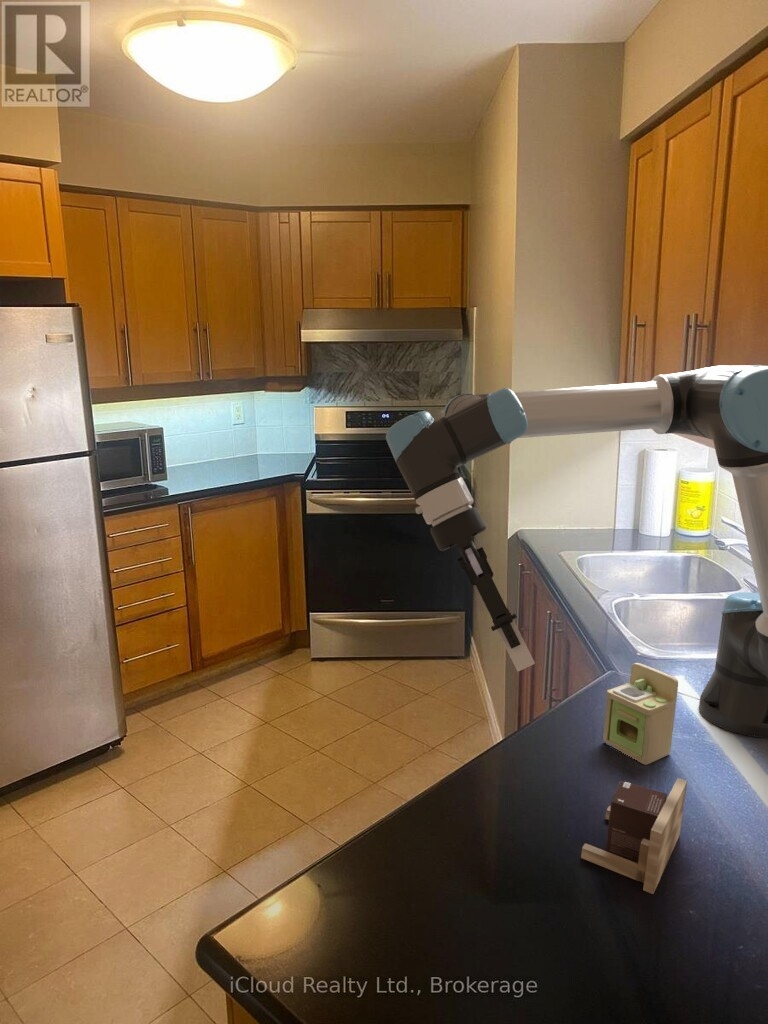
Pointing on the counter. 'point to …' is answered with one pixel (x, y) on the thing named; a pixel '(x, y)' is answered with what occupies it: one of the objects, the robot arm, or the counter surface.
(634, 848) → the box
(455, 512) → the robot arm
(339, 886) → the counter surface
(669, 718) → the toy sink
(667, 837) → the rack
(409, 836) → the counter surface
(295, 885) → the counter surface
